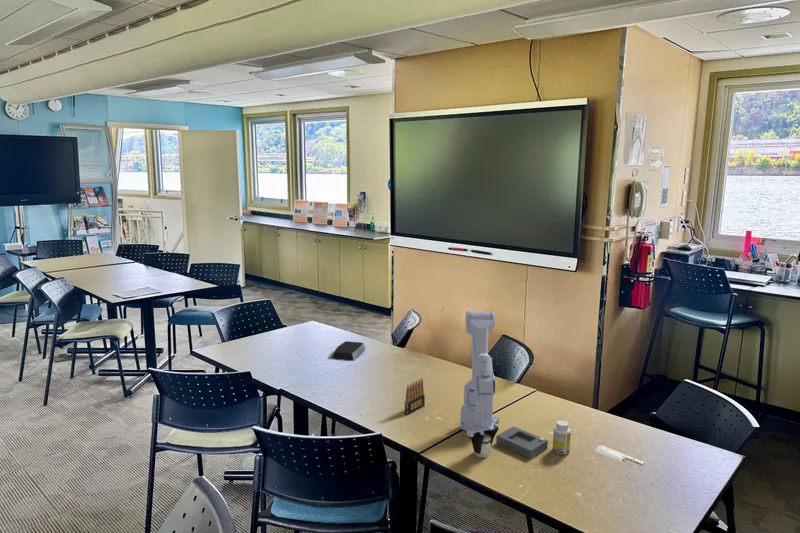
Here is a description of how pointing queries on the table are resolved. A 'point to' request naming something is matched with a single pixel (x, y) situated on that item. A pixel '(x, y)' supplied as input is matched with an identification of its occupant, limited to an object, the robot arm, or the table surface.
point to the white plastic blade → (615, 454)
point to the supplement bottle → (561, 437)
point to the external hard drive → (349, 351)
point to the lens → (485, 447)
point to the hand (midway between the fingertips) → (482, 449)
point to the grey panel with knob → (522, 442)
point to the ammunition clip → (414, 397)
